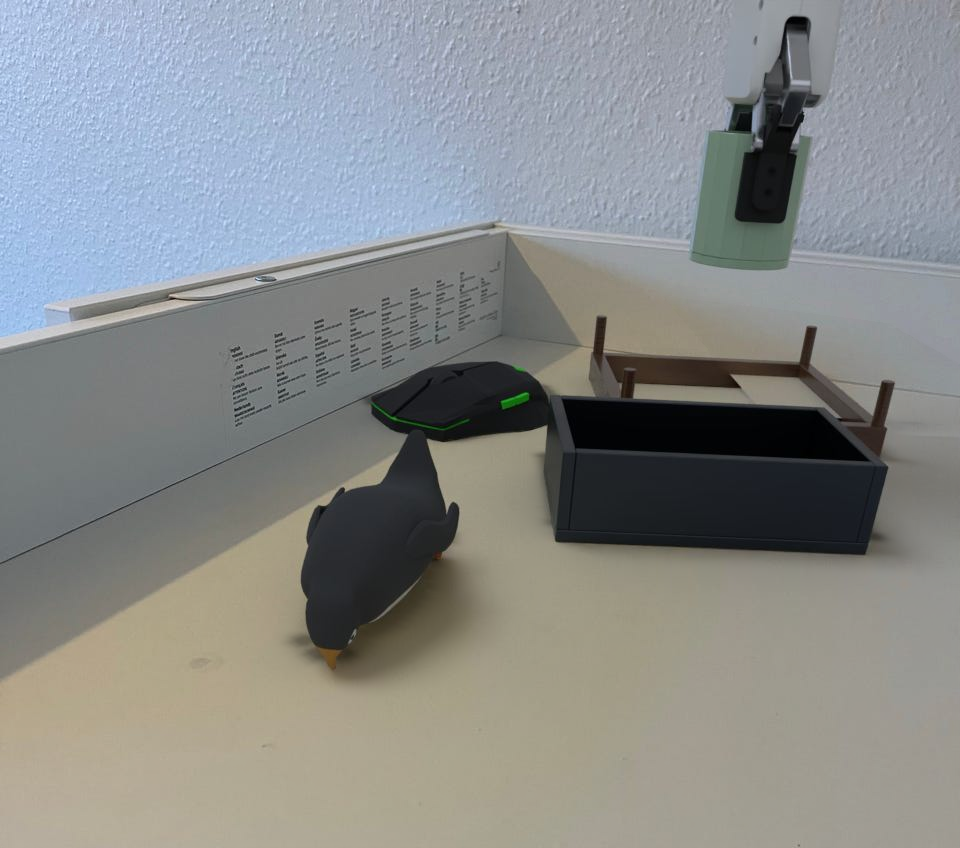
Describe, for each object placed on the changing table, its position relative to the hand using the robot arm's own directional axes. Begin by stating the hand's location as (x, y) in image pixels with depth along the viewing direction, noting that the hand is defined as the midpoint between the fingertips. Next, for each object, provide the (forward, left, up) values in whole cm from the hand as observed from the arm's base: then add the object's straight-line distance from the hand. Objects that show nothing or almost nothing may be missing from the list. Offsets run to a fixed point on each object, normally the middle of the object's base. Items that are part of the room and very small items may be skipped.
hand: (746, 213), depth 67 cm
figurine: (+23, +26, -18) cm, 39 cm away
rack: (-4, -14, -18) cm, 23 cm away
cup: (0, 0, -3) cm, 3 cm away
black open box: (+3, +10, -18) cm, 21 cm away
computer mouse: (+18, -10, -18) cm, 27 cm away
